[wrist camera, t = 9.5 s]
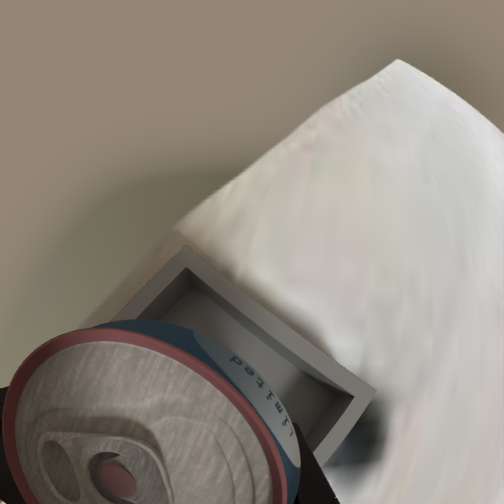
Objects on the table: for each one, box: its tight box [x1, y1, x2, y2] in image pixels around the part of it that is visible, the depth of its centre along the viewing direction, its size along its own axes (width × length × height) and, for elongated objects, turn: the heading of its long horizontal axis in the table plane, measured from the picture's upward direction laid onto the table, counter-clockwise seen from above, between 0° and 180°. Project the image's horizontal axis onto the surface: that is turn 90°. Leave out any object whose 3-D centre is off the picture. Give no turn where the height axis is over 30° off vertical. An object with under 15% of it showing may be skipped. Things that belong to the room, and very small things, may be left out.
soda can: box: [2, 319, 301, 504], centre depth 8 cm, size 7×7×12 cm
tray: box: [111, 245, 377, 467], centre depth 14 cm, size 14×14×4 cm
